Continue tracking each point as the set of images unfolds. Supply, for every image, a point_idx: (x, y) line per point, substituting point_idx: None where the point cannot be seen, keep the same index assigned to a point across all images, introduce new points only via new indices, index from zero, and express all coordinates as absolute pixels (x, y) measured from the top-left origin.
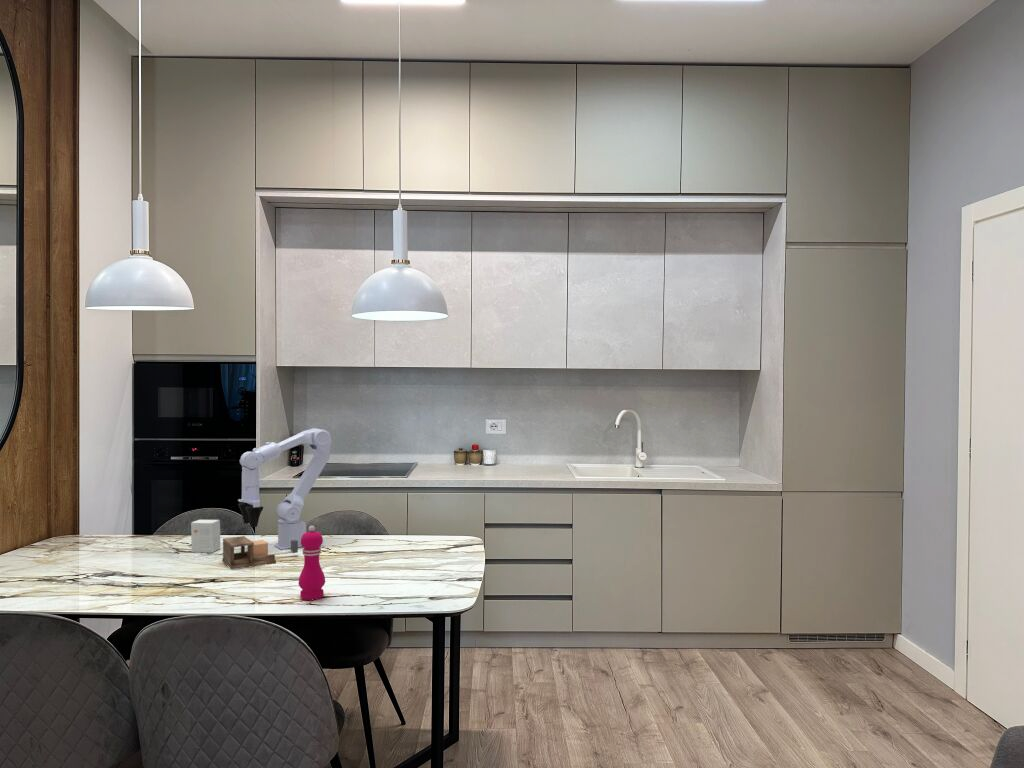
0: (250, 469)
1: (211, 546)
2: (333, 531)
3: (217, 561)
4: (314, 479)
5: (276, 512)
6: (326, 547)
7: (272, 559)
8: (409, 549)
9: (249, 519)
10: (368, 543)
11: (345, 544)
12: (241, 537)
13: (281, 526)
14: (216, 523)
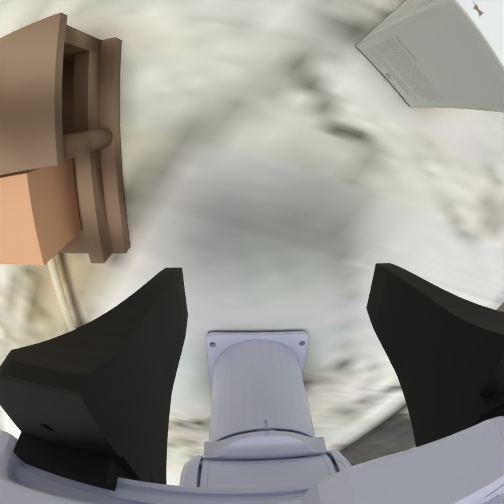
0: None
1: (372, 34)
2: (356, 459)
3: (140, 20)
4: None
5: (341, 469)
6: (171, 427)
7: None
8: None
9: (141, 298)
10: (172, 474)
11: (186, 455)
12: (24, 141)
13: (234, 420)
14: (486, 62)
